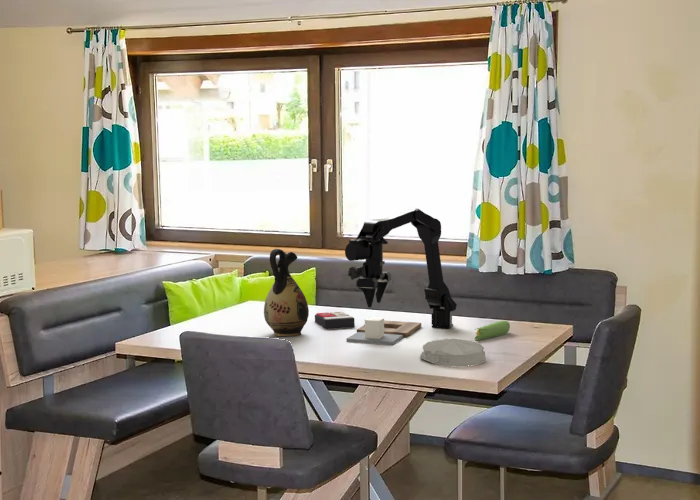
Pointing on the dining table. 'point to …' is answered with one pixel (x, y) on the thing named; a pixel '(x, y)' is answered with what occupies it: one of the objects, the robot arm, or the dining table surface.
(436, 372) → the dining table surface
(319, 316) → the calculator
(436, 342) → the grey stone disc
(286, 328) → the ceramic jug
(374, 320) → the white block
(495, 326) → the edible corn
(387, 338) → the grey mat
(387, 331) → the pocket plate
